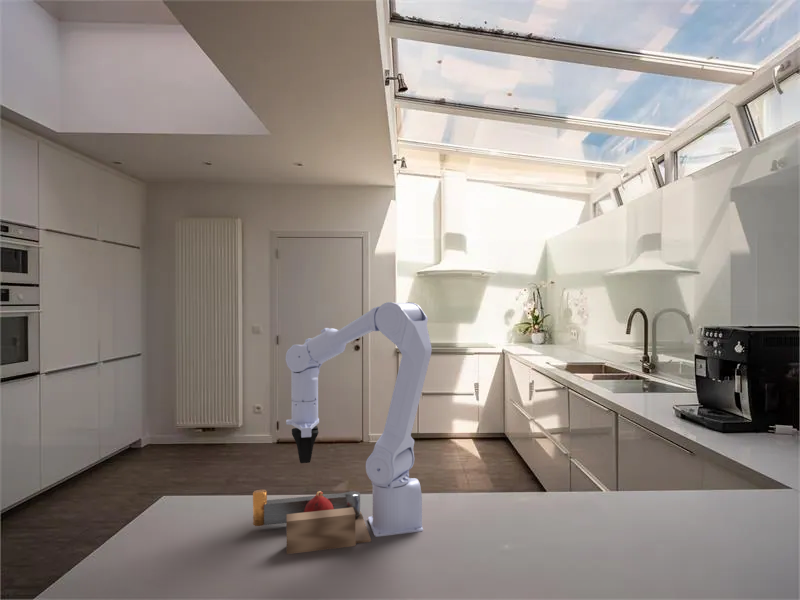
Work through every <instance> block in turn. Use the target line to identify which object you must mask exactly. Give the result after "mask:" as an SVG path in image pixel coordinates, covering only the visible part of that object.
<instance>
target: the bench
mask: <svg viewBox="0 0 800 600" xmlns="http://www.w3.org/2000/svg"><path fill="white" fill-rule="evenodd" d="M369 532H370V531H369V530H368V527H367V525H366V521H365V520H364V516H363V513H362V511H361V510H360V515H359V516H357V517H355V511H354V509H353V507H351V508H341V509H332V510H322V511H313V512H303V513H294V514H287V523H286V555H291V554H298V553H299V554H300V553H309V552H315V551H316V552H317V551H323V550H332V549H340V548H341V549H342V548H349V547H356V545H357V544H362V543H372V538H371V535H370V533H369Z"/></svg>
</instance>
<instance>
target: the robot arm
mask: <svg viewBox="0 0 800 600" xmlns="http://www.w3.org/2000/svg"><path fill="white" fill-rule="evenodd" d="M428 320H429V317H428V315H427V314H425V312H424V310H423V309H422V307H421V306H420V305H419V304H418V303H415V302H412V301H411V302H410V301H408V302H392V301H388V302H387V301H386V302H384V303H382V304H381V305H380V306H375V307H372V308H371V309H370V310H369V311H367V312H365V313H364V314H362V315H361V316H359V317H358V318H356V319H355V320H353V321H351V322H349V323H348V324H347V325H345V326H343V327H342V328H341V327H340V328H339V329H337V328H332V327H330V328H329V327H324V328H323V329H320V334H317V335H315V336H314V337H312V338H311V337H310V338H306V339H305V340H304V341H305V342H304V343H303V344H296V343H295V344H292V345H291V347H289V348H288V349H287V351H286V353H285V363H286V367H287V368H288V369H289V370H290V373H291V374H290V375H291V376H290V377H291V382H290V383H291V392H290V393H291V394H290V395H291V396H290V397H291V418H289V419H286V420H285V425H286V426H287V425H288V426H290V425H291V426H293V427H294V428H292V429H291V436H292V437H293V439H294V442H295V445H296V448H297V454H298V460H299V463H300V464H310V463H311V460H312V455H313V449H314V445H315V441H316V439H317V437H318V435H319V428H318V426H317V425H319V424H320V418H319V375H320V369H321V367H322V365H323V364H324V363H326V362H327V361H329V360H331V359H333V358H335V357H337V356H339V355H340V354H342V353H344V352H345V350H346V346H347V344H349V343H351V342H353V341H355V340H357V339H359V338H362V337H364V336H366V335H369V334H370V333H372V332H381V334H382V335H384V336H385V337H386V338H387V339H388V340H389V341H390V342H391V343H393V344H394V345H395V346H396V347H397V349H398V350H399V352H400V354H401V358H400V362H399V367H398V372H397V375H396V380H395V383H394V388H393V392H392V396H391V401H390V405H389V408H388V412H387V417H386V420H385V425H384V428H383V431H382V434H381V435H380V436H379V438H378V439H377V441H376V442H375V444H374V446H373V449H372V452H371V454H370V455H369V456H368V457H367V459H366V461H365V472H366V473H365V474H366V475H367V477H368V479H369V480H370V481H371V486H372V515H371V516H370V515H369V516H368V517H367V520H368V523H369V526H370V528H371V532H372V533H373V536H374V537H377V538H378V537H385V536H386V537H387V536H394V535H402V534H410V533H419V532H423V531H424V528H423V496H422V495H423V494H422V490H421V489H422V487H421V484H420V481H419V479H418V478H415V477H413V478H412V477H410V470H411V469H413V466H414V464H415V460H416V459H415V453H414V445H415V439H414V438H413V437H412V432H413V427H414V424H415V421H416V415H417V412H418V407H419V404H420V400H421V397H422V393H423V392H422V391H423V388H424V384H425V380H426V376H427V371H428V368H429V365H430V364H429V363H430V360H431V355H432V352H433V351H432V349H433V347H432V343H431V338H430V334H429V329H428V322H429V321H428Z"/></svg>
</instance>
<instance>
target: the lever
mask: <svg viewBox="0 0 800 600" xmlns="http://www.w3.org/2000/svg"><path fill="white" fill-rule="evenodd" d="M322 495H323V497H325V498H327V499H328V500H329V501H330V502H331V503H332V505H333V507H334V509H341V508H351V507H353V509H354V511H355V517H357V516H359V515H360V511H361V493H360V491H356V490H350V491H346V492H343V493H342V492H341V493H330V494H322ZM315 496H316V495H308V496H298V497H289V498H287V497H286V498H279V499H278V498H275V499H268V490H267V489H262V488H261V489H257V490H254V491H253V492H252V525H253V526H255V527H262V526H271V525H282V524H287V514H294V513H303V512H304V510H305V507H306V505H307V503H308V502H309V501H310V500H311V499H312V498H314V497H315Z"/></svg>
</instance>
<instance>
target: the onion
mask: <svg viewBox="0 0 800 600" xmlns="http://www.w3.org/2000/svg"><path fill="white" fill-rule="evenodd" d="M323 495H324V492H322V491H321V490H319V491H317V492H316V494H315V495H314V496H315V497H314V498H312V499H311V500H310V501H309V502H308V503H307V505H306V507H305V510H304V512H313V511H322V510H332V509H334V507H333V505H332V503H331V502H330V501H329V500H328V499H327V498H325V497H323Z"/></svg>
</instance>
